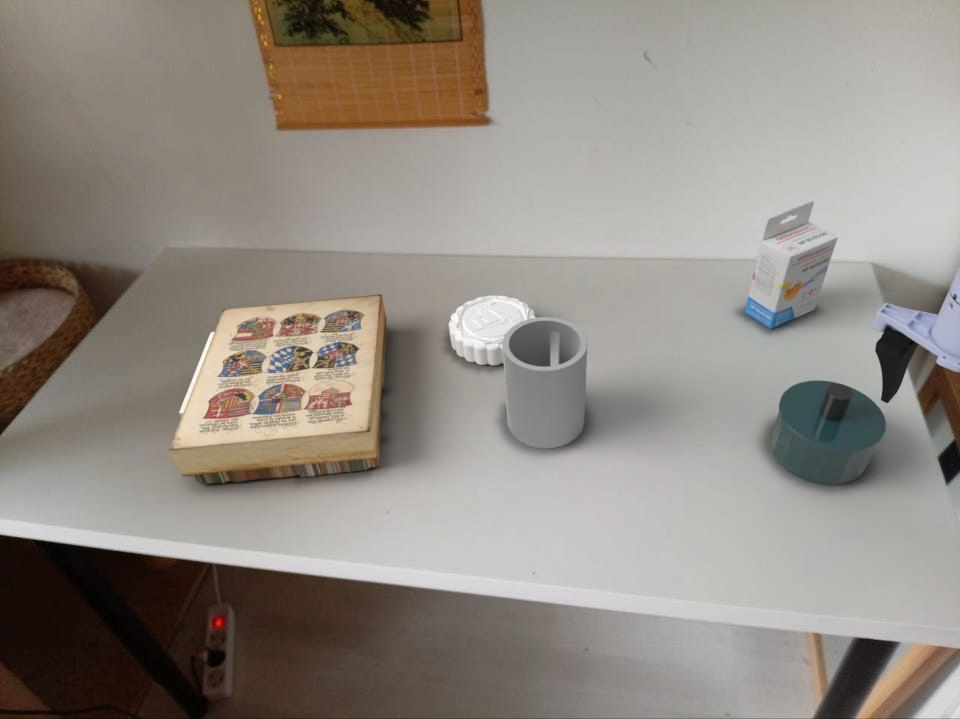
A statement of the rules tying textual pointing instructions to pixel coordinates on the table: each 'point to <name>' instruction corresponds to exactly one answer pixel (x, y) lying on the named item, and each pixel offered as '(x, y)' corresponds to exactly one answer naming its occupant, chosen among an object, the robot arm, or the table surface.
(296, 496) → the table surface
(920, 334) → the robot arm
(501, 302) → the mooncake
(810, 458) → the tin
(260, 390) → the book
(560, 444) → the cup
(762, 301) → the ink box
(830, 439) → the tin lid
